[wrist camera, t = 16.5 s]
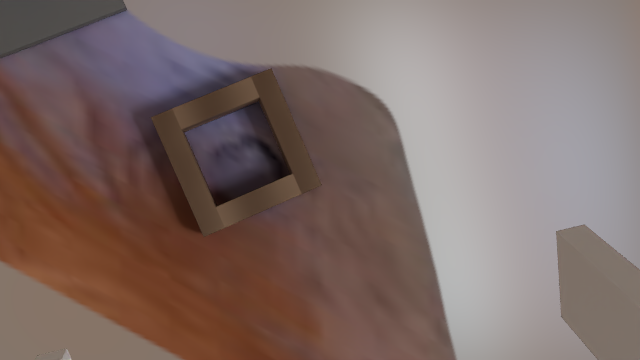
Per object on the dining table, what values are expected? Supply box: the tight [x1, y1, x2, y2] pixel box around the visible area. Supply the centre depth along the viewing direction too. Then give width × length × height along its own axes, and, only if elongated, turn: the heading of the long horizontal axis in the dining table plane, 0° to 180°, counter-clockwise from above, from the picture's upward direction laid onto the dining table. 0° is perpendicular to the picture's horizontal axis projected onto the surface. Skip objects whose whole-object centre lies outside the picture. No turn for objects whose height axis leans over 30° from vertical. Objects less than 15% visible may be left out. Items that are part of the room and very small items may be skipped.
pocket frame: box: [151, 69, 322, 237], centre depth 40 cm, size 9×9×2 cm
